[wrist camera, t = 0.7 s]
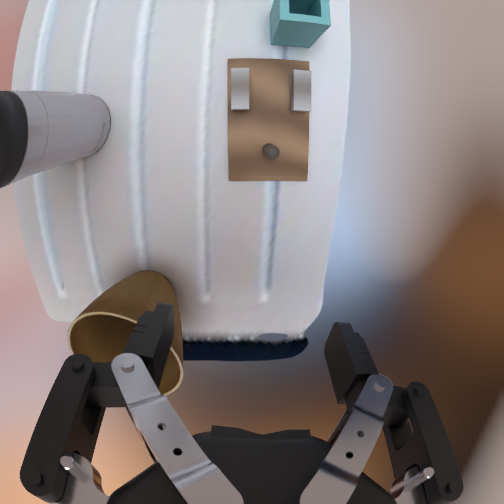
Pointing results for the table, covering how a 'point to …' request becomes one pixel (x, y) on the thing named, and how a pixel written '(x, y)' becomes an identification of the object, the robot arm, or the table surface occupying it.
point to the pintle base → (268, 119)
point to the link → (298, 22)
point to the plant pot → (127, 323)
